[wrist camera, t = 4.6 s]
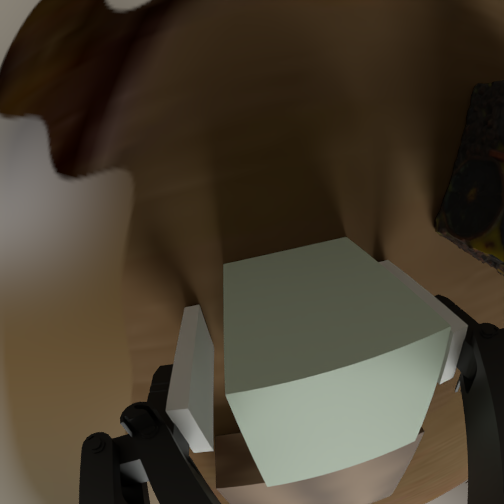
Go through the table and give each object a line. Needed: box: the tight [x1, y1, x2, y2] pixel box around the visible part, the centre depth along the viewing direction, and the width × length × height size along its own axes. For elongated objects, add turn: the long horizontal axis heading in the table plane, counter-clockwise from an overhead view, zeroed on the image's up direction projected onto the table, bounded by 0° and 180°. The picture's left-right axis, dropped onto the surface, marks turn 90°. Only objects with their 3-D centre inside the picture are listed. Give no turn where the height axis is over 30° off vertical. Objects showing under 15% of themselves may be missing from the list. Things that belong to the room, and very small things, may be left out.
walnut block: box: [215, 427, 424, 504], centre depth 19 cm, size 14×14×5 cm
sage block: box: [223, 237, 451, 487], centre depth 11 cm, size 6×6×8 cm
